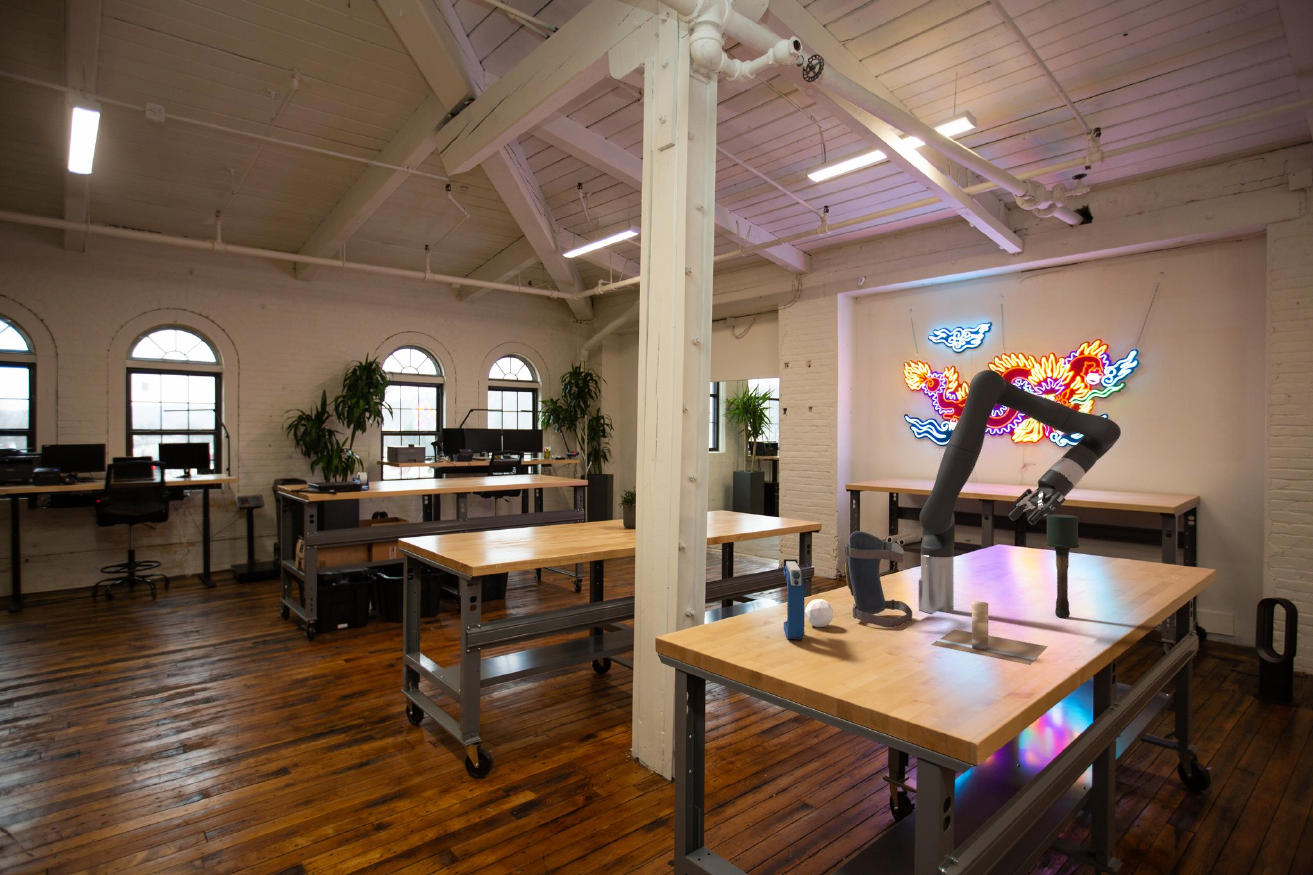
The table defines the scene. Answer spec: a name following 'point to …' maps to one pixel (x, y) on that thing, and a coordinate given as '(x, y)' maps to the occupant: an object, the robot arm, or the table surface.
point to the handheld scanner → (794, 600)
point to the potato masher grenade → (1062, 554)
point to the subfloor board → (992, 647)
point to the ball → (819, 613)
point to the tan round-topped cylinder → (980, 625)
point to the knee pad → (871, 578)
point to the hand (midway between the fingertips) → (1020, 520)
